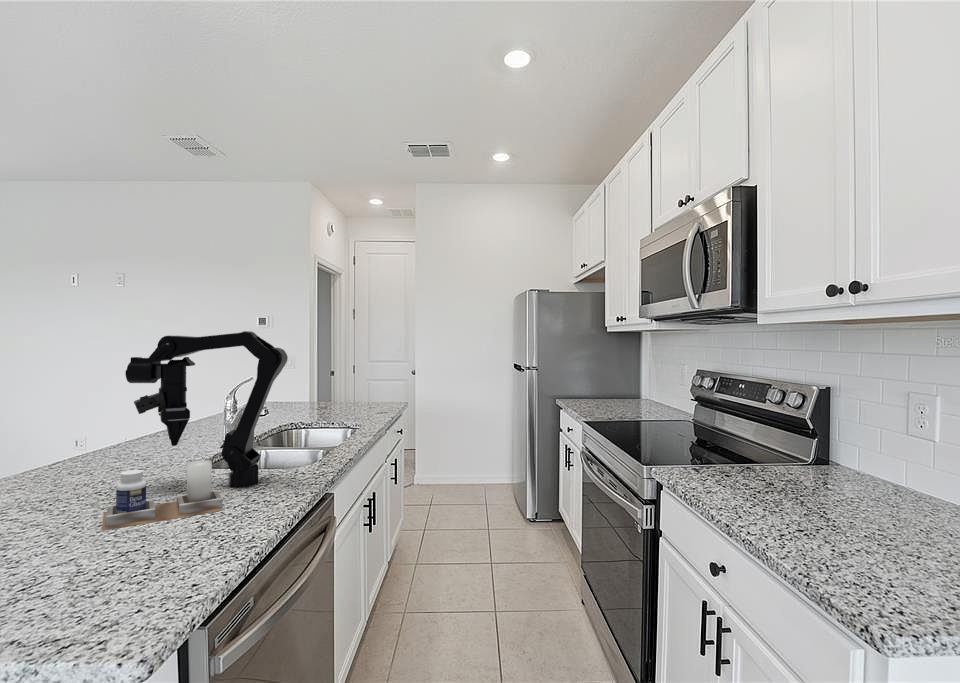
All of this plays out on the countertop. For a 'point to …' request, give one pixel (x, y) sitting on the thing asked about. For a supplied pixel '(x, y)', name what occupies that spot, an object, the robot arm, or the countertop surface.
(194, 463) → the pin
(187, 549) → the countertop surface
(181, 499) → the board
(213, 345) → the robot arm
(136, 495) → the pill bottle
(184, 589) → the countertop surface
